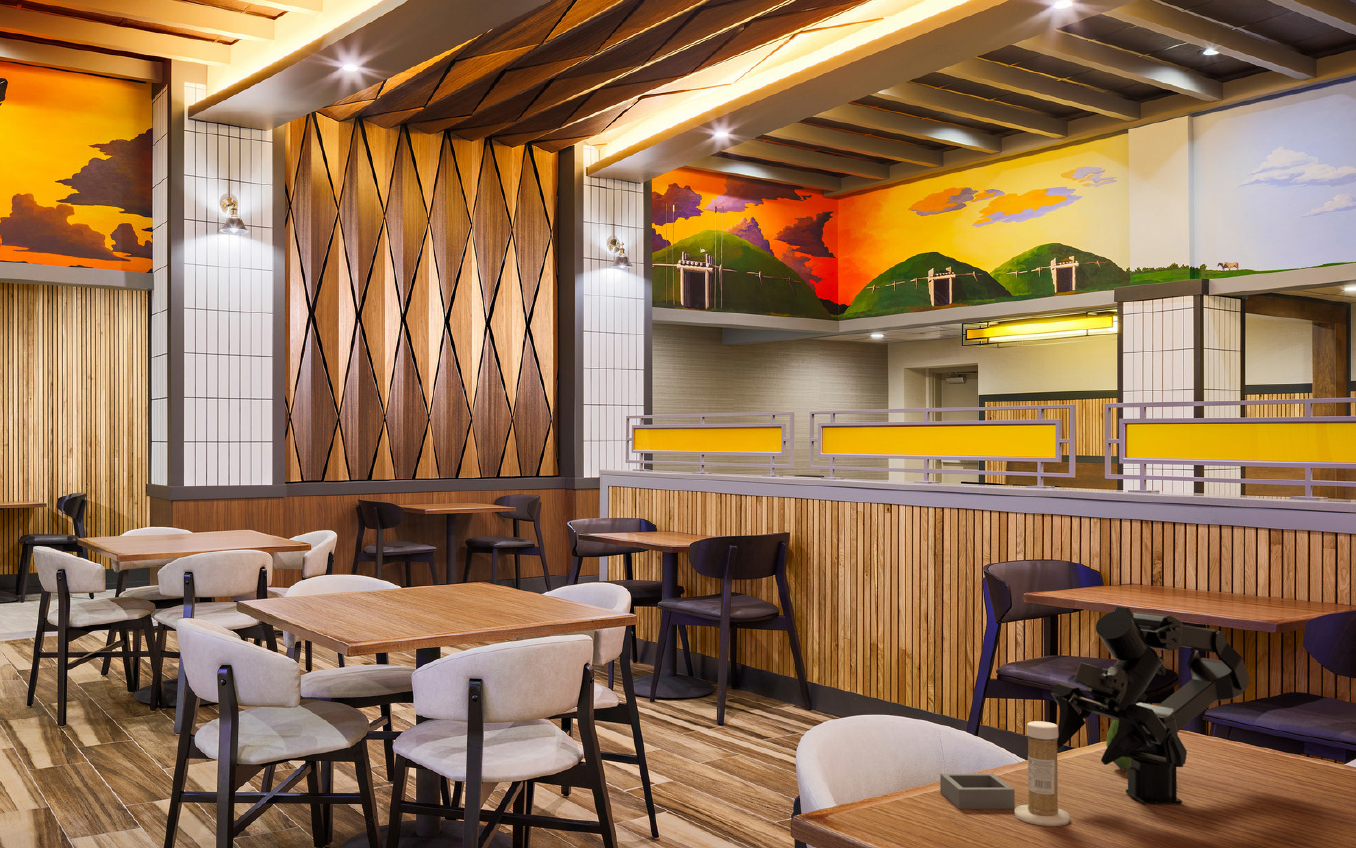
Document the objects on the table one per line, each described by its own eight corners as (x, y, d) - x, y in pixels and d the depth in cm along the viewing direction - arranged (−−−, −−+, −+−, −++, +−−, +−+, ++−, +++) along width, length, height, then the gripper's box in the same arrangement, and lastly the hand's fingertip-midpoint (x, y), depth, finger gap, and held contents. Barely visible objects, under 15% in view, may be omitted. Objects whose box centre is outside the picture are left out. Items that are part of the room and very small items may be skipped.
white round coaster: (1055, 809, 166) (1055, 804, 166) (1078, 826, 158) (1078, 820, 158) (1006, 809, 165) (1006, 804, 165) (1027, 826, 157) (1027, 820, 157)
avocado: (1135, 779, 185) (1135, 709, 185) (1097, 768, 192) (1097, 701, 192) (1164, 773, 189) (1163, 705, 189) (1126, 763, 195) (1125, 697, 196)
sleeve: (993, 792, 175) (993, 773, 175) (1014, 808, 166) (1014, 789, 166) (940, 792, 174) (940, 773, 174) (958, 809, 165) (958, 789, 165)
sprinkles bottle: (1062, 811, 162) (1062, 723, 163) (1052, 819, 159) (1052, 728, 159) (1032, 805, 165) (1032, 718, 166) (1022, 812, 161) (1022, 723, 162)
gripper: (1059, 634, 176) (1009, 707, 171) (1155, 657, 160) (1102, 739, 155) (1092, 676, 180) (1044, 749, 175) (1189, 703, 163) (1138, 785, 158)
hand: (1079, 754), depth 166 cm, fingers open, 9 cm apart
